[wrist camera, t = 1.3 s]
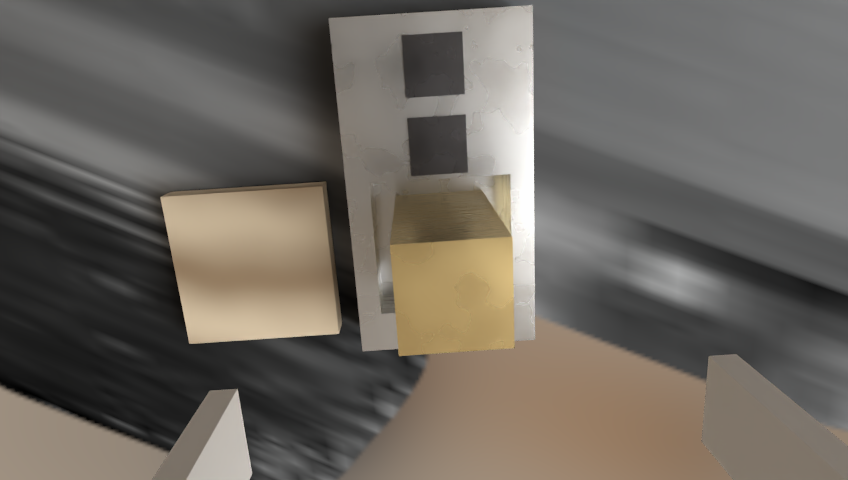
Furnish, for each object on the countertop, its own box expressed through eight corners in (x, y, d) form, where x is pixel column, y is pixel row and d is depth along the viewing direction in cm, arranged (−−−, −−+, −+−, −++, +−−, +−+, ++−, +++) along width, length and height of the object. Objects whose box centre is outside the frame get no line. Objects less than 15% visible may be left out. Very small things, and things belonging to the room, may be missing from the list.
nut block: (395, 195, 32) (389, 245, 22) (481, 190, 32) (512, 236, 22) (402, 276, 33) (399, 355, 24) (484, 271, 33) (514, 348, 24)
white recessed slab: (336, 24, 30) (328, 17, 27) (520, 12, 30) (532, 5, 27) (366, 328, 35) (362, 351, 32) (524, 318, 35) (535, 340, 32)
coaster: (171, 191, 32) (160, 196, 31) (325, 181, 32) (322, 186, 31) (198, 332, 35) (189, 343, 33) (341, 323, 35) (339, 333, 33)
